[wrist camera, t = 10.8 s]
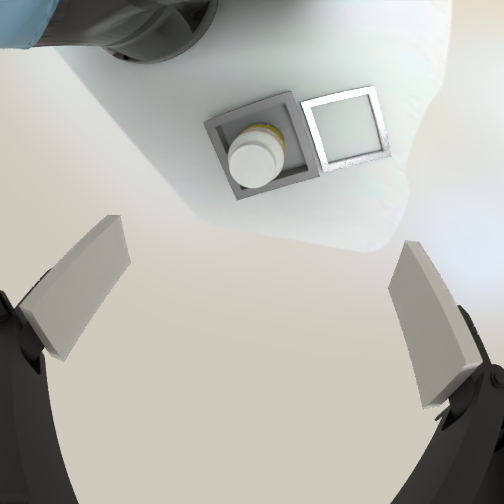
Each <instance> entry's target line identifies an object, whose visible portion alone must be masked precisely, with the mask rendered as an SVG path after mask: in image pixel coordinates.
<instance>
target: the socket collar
mask: <svg viewBox="0 0 504 504" xmlns="http://www.w3.org/2000/svg"><path fill="white" fill-rule="evenodd" d="M365 94H368V97H369V100H370V104H371V107H372V111H373V115H374V118H375V122H376V126H377V130H378V134H379V138H380V143H381V147H382V150H380V151H375V152H371V153H366V154H362V155H358V156H354V157H350V158H345V159H341V160H337V161H333V162H330V163H328V162H327V159H326V155H325V152H324V149H323V145H322V142H321V139H320V136H319V133H318V130H317V126H316V123H315V120H314V117H313V115H312V112H311V109H310V107H313V106H317V105H320V104H324V103H329V102H333V101H337V100H341V99H346V98H350V97H355V96H360V95H365ZM301 105H302V108H303V111H304V113H305V116H306V119H307V122H308V125H309V128H310V131H311V134H312V137H313V140H314V143H315V146H316V150H317V153H318V156H319V159H320V163H321V166H322V169H323V172H328V171H332V170H336V169H340V168H344V167H348V166H352V165H356V164H360V163H364V162H369V161H373V160H377V159H382V158H386V157H391V153H390V148H389V143H388V139H387V134H386V130H385V126H384V122H383V118H382V114H381V110H380V106H379V103H378V99H377V96H376V92H375V89H374V86H369V87H364V88H358V89H353V90H349V91H344V92H339V93H335V94H331V95H327V96H323V97H319V98H315V99H311V100H307V101H303V102H301Z"/></svg>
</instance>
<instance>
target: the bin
mask: <svg viewBox="0 0 504 504" xmlns="http://www.w3.org/2000/svg"><path fill="white" fill-rule="evenodd" d="M255 123H268V124H271V125H273V126H274V127H276V128H277V129H278V130H279V131H280V132H281V133H282V135H283V138H284V142H285V153H284V164H283V167H282V170H281V171H280V173H279V174H278V175H277V177H276V178H274V179H273V180H272V181H270V182H268V183H267V184H266V185H264V186H262V187H259V188H247V187H244V186H242V185H240V184H239V183H237V182H236V181H235V180H234V179H233V177H232V175H231V173H230V170H229V163H228V152H229V148H230V146H231V144H232V143H233V141H234V140H235V139H236V138H237V137H238V136H239V135H240V134H241V133H242V132H243V131H244V130H245V129H246V128H247V127H248V126H250V125H252V124H255ZM204 125H205V128H206V130H207V132H208V135H209V137H210V139H211V142H212V144H213V146H214V148H215V151H216V153H217V155H218V158H219V160H220V162H221V165H222V167H223V169H224V171H225V174H226V176H227V178H228V181H229V183H230V185H231V188H232V190H233V192H234V195H235V197H236V199H237V200H240V199H243V198H247V197H250V196H253V195H257V194H260V193H263V192H267V191H270V190H273V189H277V188H280V187H284V186H287V185H291V184H294V183H298V182H302V181H305V180H309V179H313V178H316V177H320V175H319V172H318V169H317V165H316V162H315V159H314V156H313V153H312V149H311V146H310V143H309V140H308V137H307V134H306V131H305V128H304V125H303V122H302V120H301V117H300V114H299V111H298V108H297V106H296V103H295V100H294V97H293V95H292V92H291V91H290V92H286V93H283V94H280V95H276V96H273V97H270V98H267V99H264V100H261V101H258V102H255V103H252V104H249V105H247V106H244V107H241V108H238V109H236V110H233V111H230V112H228V113H225V114H223V115H220V116H218V117H215V118H213V119H210V120H208V121H206V122H204Z"/></svg>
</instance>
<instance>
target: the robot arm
mask: <svg viewBox="0 0 504 504" xmlns="http://www.w3.org/2000/svg"><path fill="white" fill-rule="evenodd" d="M216 9H217V0H0V48H20V49H29V48H31V47H42V46H63V45H85V46H101V47H102V48H103V49H105V50H106V51H108V52H109V53H110V54H112V55H113V56H115V57H116V58H118V59H120V60H123V61H126V62H131V63H144V64H149V63H157V62H162V61H165V60H168V59H171V58H173V57H175V56H178V55H179V54H181V53H183V52H184V51H186V50H187V49H189V48H190V47H191V46H193V45H194V44H195V43H196V42H197V41H198V40H199V39H200V38H201V37H202V36H203V35H204V33H205V32H206V31H207V29H208V28H209V26H210V24H211V23H212V21H213V18H214V16H215V13H216ZM130 263H131V262H130V258H129V253H128V249H127V245H126V241H125V236H124V232H123V227H122V222H121V218H120V215H107V216H106V217H105V218H104V219H103V220H101V221H100V222H99V223H98V224H97V225H96V226H95V227H94V228H93V229H92V230H91V231H90V232H89V233H87V234H86V235H85V236H84V237H83V238H82V239H81V240H80V241H79V242H78V243H77V244H76V245H75V246H74V247H73V248H72V249H71V250H70V251H69V252H68V253H67V254H66V255H65V256H64V257H63V258H62V259H61V260H60V261H59V262H58V263H57V264H56V265H55V266H54V267H53V268H51V269H50V270H48V271H47V272H46V273H45V274H44V275H43V276H42V277H41V278H40V281H38V282H37V283H36V284H35V286H34V287H32V289H31V290H30V291H29V292H28V293H27V294H26V295H25V297H24V298H23V299H22V300H21V302H20V303H19V304H18V305H17V306H16V307H15V309H14V308H13V307H12V305H11V303H10V301H9V300H8V298H7V296H6V294H5V293H4V291H1V290H0V504H79V503H78V501H77V498H76V496H75V493H74V491H73V488H72V485H71V483H70V480H69V477H68V474H67V471H66V468H65V464H64V461H63V458H62V454H61V451H60V447H59V443H58V439H57V435H56V430H55V426H54V421H53V416H52V411H51V406H50V399H49V392H48V384H47V376H46V367H45V366H46V365H45V357H44V354H43V353H42V350H43V349H44V347H45V348H46V349H47V351H48V352H49V354H50V355H51V356H52V357H54V358H56V359H58V360H61V361H63V362H64V361H65V360H66V358H67V356H68V355H69V353H70V351H71V350H72V348H73V346H74V345H75V343H76V342H77V340H78V338H79V337H80V335H81V333H82V332H83V330H84V329H85V327H86V326H87V324H88V323H89V321H90V320H91V318H92V317H93V315H94V314H95V312H96V311H97V309H98V308H99V306H100V305H101V303H102V302H103V301H104V299H105V298H106V296H107V295H108V293H109V292H110V290H111V289H112V288H113V286H114V285H115V284H116V282H117V281H118V279H119V278H120V277H121V275H122V274H123V273H124V271H125V270H126V269H127V267H128V266H129V265H130ZM388 289H389V292H390V295H391V298H392V301H393V304H394V307H395V310H396V312H397V315H398V318H399V321H400V325H401V328H402V331H403V334H404V337H405V340H406V344H407V347H408V351H409V354H410V358H411V361H412V365H413V369H414V372H415V377H416V380H417V385H418V389H419V393H420V398H421V402H422V407H423V409H428V408H434V407H439V406H440V405H441V404H443V402H445V401H446V400H447V399H449V402H450V405H449V406H448V407H447V408H446V409H445V410H444V411H443V412H441V413H440V414H439V415H438V416H437V417H436V419H435V421H437V420H438V419H440V418H441V417H442V416H443V417H442V419H441V421H440V423H439V425H438V427H437V429H436V431H435V434H434V435H433V437H432V439H431V441H430V443H429V445H428V446H427V448H426V450H425V452H424V454H423V455H422V457H421V459H420V460H419V462H418V464H417V465H416V467H415V469H414V470H413V472H412V474H411V475H410V477H409V478H408V480H407V481H406V483H405V484H404V486H403V487H402V488H401V490H400V491H399V493H398V494H397V495H396V497H395V498H394V499H393V501H392V502H391V503H390V504H504V369H503V368H502V367H501V366H499V365H496V364H491V362H490V359H489V357H488V354H487V352H486V350H485V348H484V345H483V343H482V341H481V339H480V337H479V335H477V330H476V328H475V327H474V326H473V325H474V324H473V322H472V320H471V318H470V316H469V314H468V313H467V312H466V311H465V310H464V309H463V308H462V307H461V306H460V305H456V303H455V301H454V299H453V297H452V295H451V294H450V292H449V290H448V288H447V286H446V285H445V283H444V281H443V279H442V278H441V276H440V274H439V273H438V271H437V269H436V268H435V266H434V264H433V263H432V261H431V260H430V258H429V257H428V255H427V253H426V252H425V250H424V249H423V247H422V246H421V244H420V243H419V242H414V241H405V243H404V246H403V249H402V252H401V255H400V258H399V260H398V263H397V266H396V269H395V271H394V274H393V277H392V279H391V282H390V285H389V287H388Z"/></svg>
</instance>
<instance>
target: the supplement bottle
mask: <svg viewBox="0 0 504 504" xmlns="http://www.w3.org/2000/svg"><path fill="white" fill-rule="evenodd" d="M284 153H285V142H284V138H283V135H282V133H281V132H280V131H279V130H278V129H277V128H276V127H274V126H273V125H271V124H268V123H255V124H252V125H250V126H248V127H247V128H246V129H245V130H244V131H243V132H242V133H241V134H240V135H239V136H238V137H237V138H236V139H235V140H234V141H233V143H232V144H231V146H230V148H229V152H228V163H229V170H230V173H231V175H232V177H233V179H234V180H235V181H236V182H237V183H239V184H240V185H242V186H244V187H247V188H259V187H262V186H264V185H266V184H267V183H268V182H270V181H272V180H273V179H274V178H276V177H277V175H278V174H279V173H280V171H281V170H282V167H283V164H284Z"/></svg>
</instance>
